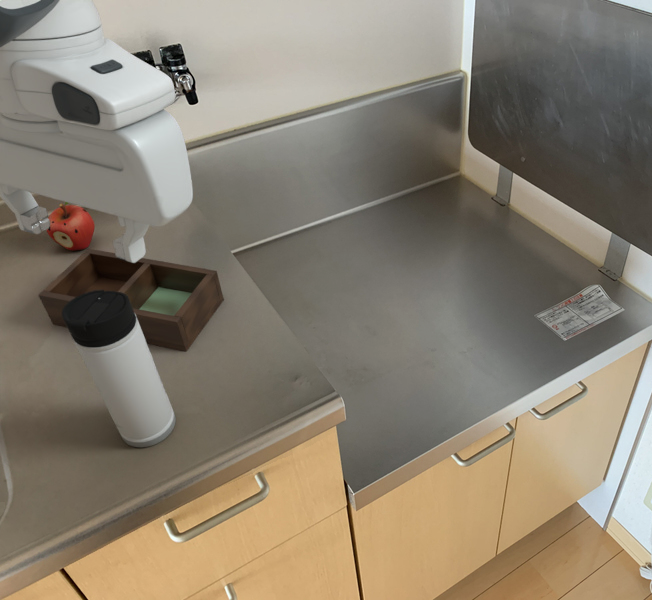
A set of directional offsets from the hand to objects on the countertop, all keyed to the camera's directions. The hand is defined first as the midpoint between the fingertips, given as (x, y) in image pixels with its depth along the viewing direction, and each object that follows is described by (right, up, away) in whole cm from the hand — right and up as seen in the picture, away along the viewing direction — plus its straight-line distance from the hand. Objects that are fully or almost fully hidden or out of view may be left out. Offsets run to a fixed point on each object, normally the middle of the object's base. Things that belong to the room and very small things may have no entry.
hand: (83, 243), depth 50 cm
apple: (-27, +4, +51) cm, 58 cm away
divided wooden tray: (-12, -6, +39) cm, 41 cm away
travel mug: (-4, -20, +23) cm, 31 cm away
